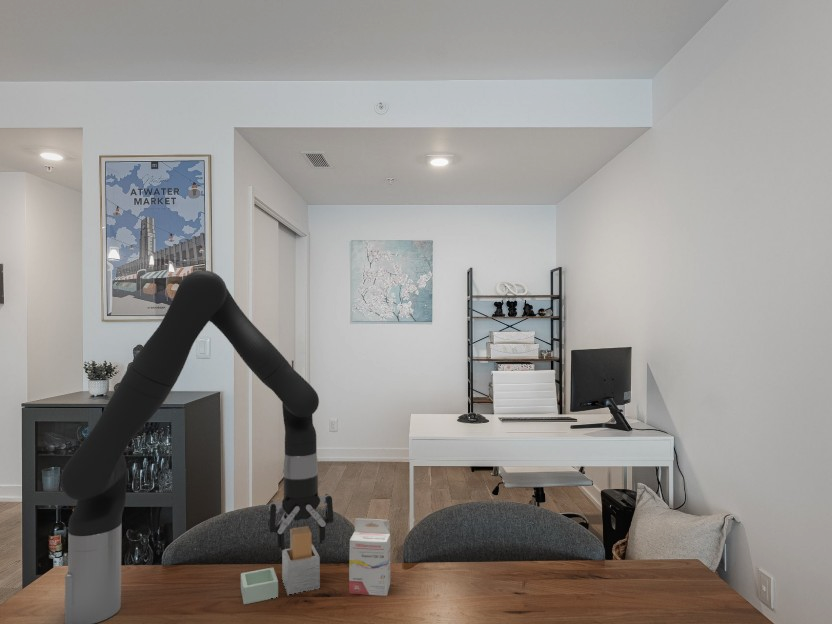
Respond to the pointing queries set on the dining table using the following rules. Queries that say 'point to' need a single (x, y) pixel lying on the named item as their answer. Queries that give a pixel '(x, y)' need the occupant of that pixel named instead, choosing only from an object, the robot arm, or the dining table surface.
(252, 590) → the lower socket
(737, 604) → the dining table surface
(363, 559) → the ink cartridge box
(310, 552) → the plug
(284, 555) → the upper socket
